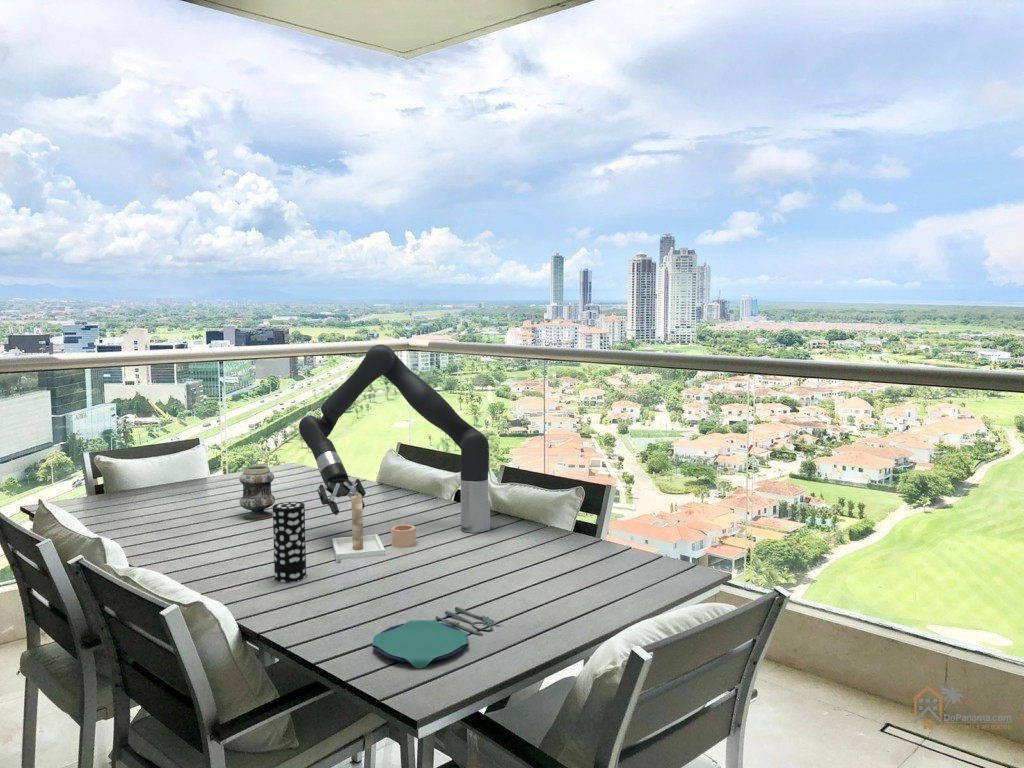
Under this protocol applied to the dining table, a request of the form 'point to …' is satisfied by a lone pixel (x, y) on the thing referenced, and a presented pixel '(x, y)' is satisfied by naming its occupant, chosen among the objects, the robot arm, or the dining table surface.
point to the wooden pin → (357, 522)
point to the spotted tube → (289, 541)
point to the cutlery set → (426, 639)
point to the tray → (345, 550)
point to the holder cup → (403, 536)
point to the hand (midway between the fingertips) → (349, 511)
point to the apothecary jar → (257, 492)
